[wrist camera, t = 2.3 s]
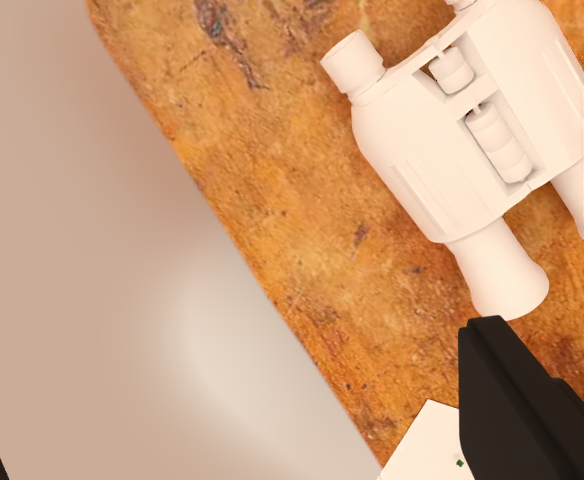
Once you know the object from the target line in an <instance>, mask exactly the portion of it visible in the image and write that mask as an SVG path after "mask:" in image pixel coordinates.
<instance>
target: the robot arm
mask: <svg viewBox="0 0 584 480" xmlns="http://www.w3.org/2000/svg"><path fill="white" fill-rule="evenodd" d="M458 368H459V440H460V445H461V450H462V453H463V455H464V458H465V460H466V462H467V464H468V466H469V468H470V471H471V473H472V475H473V477H474V479H475V480H584V402H583V401H582V400H581V399H580V397H579V396H578V395H577V394H576V393H575V391H574V390H573V389H572V388H571V387H570V386H569V384H567V383H566V382H565V381H564V380H563V379H560V378H551V377H550V375H549V374H548V373H547V372H546V370H545V369H544V368H543V367H542V365H541V364H540V363H539V362H538V361H537V359H536V358H535V357H534V356H533V354H532V353H531V352H530V351H529V350H528V348H527V347H526V346H525V345H524V343H523V342H522V341H521V340H520V338H519V337H518V336H517V335H516V334H515V332H514V331H513V330H512V329H511V327H510V326H509V325H508V324H507V322H506V321H505V320H504V319H503V318H502V317H501V316H500V315H493V316H486V317H479V318H472V319H469V320H468V322H467V327H462V328H460V329H459V331H458ZM0 480H9V478H8V475H7V473H6V471H5V468H4V466H3V464H2V461H1V459H0Z"/></svg>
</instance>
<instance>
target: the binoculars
mask: <svg viewBox="0 0 584 480" xmlns="http://www.w3.org/2000/svg"><path fill="white" fill-rule="evenodd" d="M444 1H445V2H446V4H447V5H451V4H452V6H453V7H454V13H455V15H456V17H455V18H454V19H453V20H452V21H451V22H450V23H449V24H448V25H447V26H446V27H445V28H444V29H443V30H441V31H440V32H439V33H438V34H437V35H434V36H433V37H431V38H430V39H428V40H427V41H426V42H425V44H424V45H423V46H422V47H421V48H419V49H418V50H417V51H416V52H414V53H413V54H412V55H410V56H409V57H408V58H406V59H405V60H403V61H402V62H400V63H399V64H397V65H396V66H394V67H391V68H388V69H387V68H384V67H383V65H382V62H383V59H382V57H381V56H380V54H378V53H377V51H376V50H375V48H374V47H373V45H372V44H371V43H370V41H369V40H368V38H367V37H366V35H365V34H364V33H363V31H362V30H361V29H358V30H356V31H354V32H353V33H351V34H350V35H348V36H347V37H345V38H344V39H343V40H341V41H340V42H339V43H338V44H336V45H335V46H334V47H333V48H332V49H331V50H330V51H329V52H328V53H327V54H326V55H325V56H324V57H323V58H322V59H321V61H320V64H321V66H322V67H323V68H324V70H325V71H326V72H327V74H328V75H329V76H330V78H331V79H332V80H333V82H334V83H335V84H336V86H337V88H338V89H339V91H340V92H341V93H346V94H347V95H348V99H349V100H350V102H351V103H352V104H353V105H352V107H351V115H352V131H353V134H354V137H355V139H356V142H357V145H358V147H359V150H360V152H361V153H362V154H363V156H364V157H365V158H366V160H367V161H368V162H369V164H370V165H371V166H372V167H373V169H374V170H375V171H376V173H377V174H378V175H379V177H380V178H381V179H382V180H383V182H384V183H385V184H386V186H387V187H388V188H389V190H390V191H391V192H392V193H393V195H394V196H395V197H396V199H397V200H398V201H399V202H400V204H401V205H402V206H403V208H404V209H405V210H406V212H407V213H408V214H409V215H410V217H411V218H412V219H413V221H414V222H415V223H416V225H417V226H418V227H419V228H420V230H421V231H422V232H423V234H424V235H425V236H426V238H427V239H429V240H430V241H432V242H434V243H443V244H444V245H445V246H446V247H447V248H448V249H449V250H450V251H451V252H452V253H453V254H454V256H455V258H456V261H457V263H458V266H459V268H460V270H461V272H462V274H463V276H464V278H465V281H466V283H467V285H468V287H469V289H470V293H471V299H472V303H473V306H474V308H475V309H476V310H477V312H478V313H479V314H480V315H481V316H482V317H486V316H493V315H500V316H501V317H502V318H503V319H504V320H505V321H507V320H512V319H515V318H518V317H521V316H523V315H525V314H527V313H529V312H530V311H532V310H533V309H535V308H536V307H537V306H538V305H539V304H540V303H541V302H542V301H543V300H544V299H545V297H546V295H547V293H548V290H549V281H548V278H547V276H546V273H545V271H544V270H543V269H542V268H541V267H540V266H539V265H538V264H537V263H535V262H534V261H533V260H531V259H530V257H529V256H528V255H527V253H526V252H525V250H524V249H523V247H522V246H521V245H520V243H519V242H518V240H517V239H516V237H515V236H514V234H513V233H512V231H511V230H510V228H509V227H508V225H507V224H506V222H505V221H504V219H503V218H502V215H503V214H504V213H505V212H506V211H507V210H509V209H510V208H511V207H512V206H514V205H515V204H517V203H518V202H520V201H521V200H522V199H524V198H525V197H526V196H527V195H528V194H529V193H530V192H531V191H532V190H534V189H536V188H538V187H540V186H542V185H543V184H545V183H546V182H548V181H550V182H551V184H552V185H553V187H554V188H555V190H556V191H557V193H558V194H559V196H560V197H561V199H562V200H563V202H564V204H565V205H566V207H567V208H568V210H569V212H570V213H571V215H572V216H573V218H574V220H575V224H576V228H577V231H578V234H579V236H580V237H581V238H582V240H583V241H584V71H583V69H582V67H581V66H580V64H579V62H578V60H577V58H576V57H575V55H574V53H573V51H572V49H571V48H570V46H569V44H568V42H567V40H566V38H565V37H564V35H563V33H562V31H561V29H560V28H559V26H558V24H557V22H556V20H555V19H554V17H553V15H552V13H551V11H550V10H549V9H548V8H547V7H546V6H545V5H544V4H543V3H541V2H540V1H539V0H444ZM449 45H451V48H449V49H447V50H446V51H444V52H443V50H444V49H445V48H446V47H447V46H449ZM436 55H437V57H436V58H435V59H434V60H433V61H432V62H431V63H430V65H429V70H430V72H431V73H432V75H433V76H434V78H435V79H437V82H438V83H437V82H436V81H435V80H433V79H432V78H431V77H429V76H428V75H427V74H425V73H424V72H423V71H421V70H420V69H419V68H421V67H422V66H423V65H424V64H426V63H427V62H428V61H430V60H431V59H432V58H434V57H435V56H436ZM479 103H480V104H481V106H479V107H478V104H479ZM471 109H473V111H472V112H471V113H470V114H469V115H468V116H467V117H466V116H465V114H466V113H467V112H469V111H470V110H471Z"/></svg>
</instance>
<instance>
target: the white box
mask: <svg viewBox="0 0 584 480" xmlns="http://www.w3.org/2000/svg"><path fill="white" fill-rule="evenodd" d="M376 480H475V479H474V477H473V475H472V473H471V471H470V468H469V466H468V464H467V462H466V460H465V458H464V455H463V453H462V450H461V445H460V440H459V409H456V408H453V407H450V406H447V405H444V404H441V403H438V402H435V401H432V400H429V399H428V400H427V402H426V403H425V405H424V406H423V408H422V409H421V411H420V412H419V414H418V416H417V417H416V419H415V420H414V422H413V423H412V425H411V426H410V428H409V430H408V431H407V433H406V434H405V436H404V437H403V439H402V440H401V442H400V444H399V445H398V447H397V448H396V450H395V451H394V453H393V454H392V456H391V458H390V459H389V461H388V462H387V464H386V465H385V467H384V469H383V470H382V472H381V473H380V475H379V477H378V478H377V479H376Z"/></svg>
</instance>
